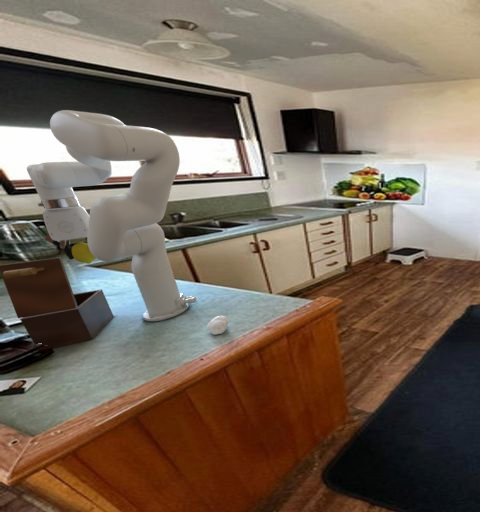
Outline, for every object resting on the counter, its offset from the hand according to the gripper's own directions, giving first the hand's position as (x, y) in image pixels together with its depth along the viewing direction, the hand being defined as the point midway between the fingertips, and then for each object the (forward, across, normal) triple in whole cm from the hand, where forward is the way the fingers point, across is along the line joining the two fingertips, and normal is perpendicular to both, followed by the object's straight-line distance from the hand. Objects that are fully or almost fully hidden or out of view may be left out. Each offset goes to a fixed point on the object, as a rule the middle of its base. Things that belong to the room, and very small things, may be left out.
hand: (85, 256), depth 94 cm
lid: (+2, +1, -25) cm, 25 cm away
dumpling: (+20, +41, -37) cm, 59 cm away
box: (+19, +1, -19) cm, 27 cm away
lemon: (+3, 0, 0) cm, 3 cm away
